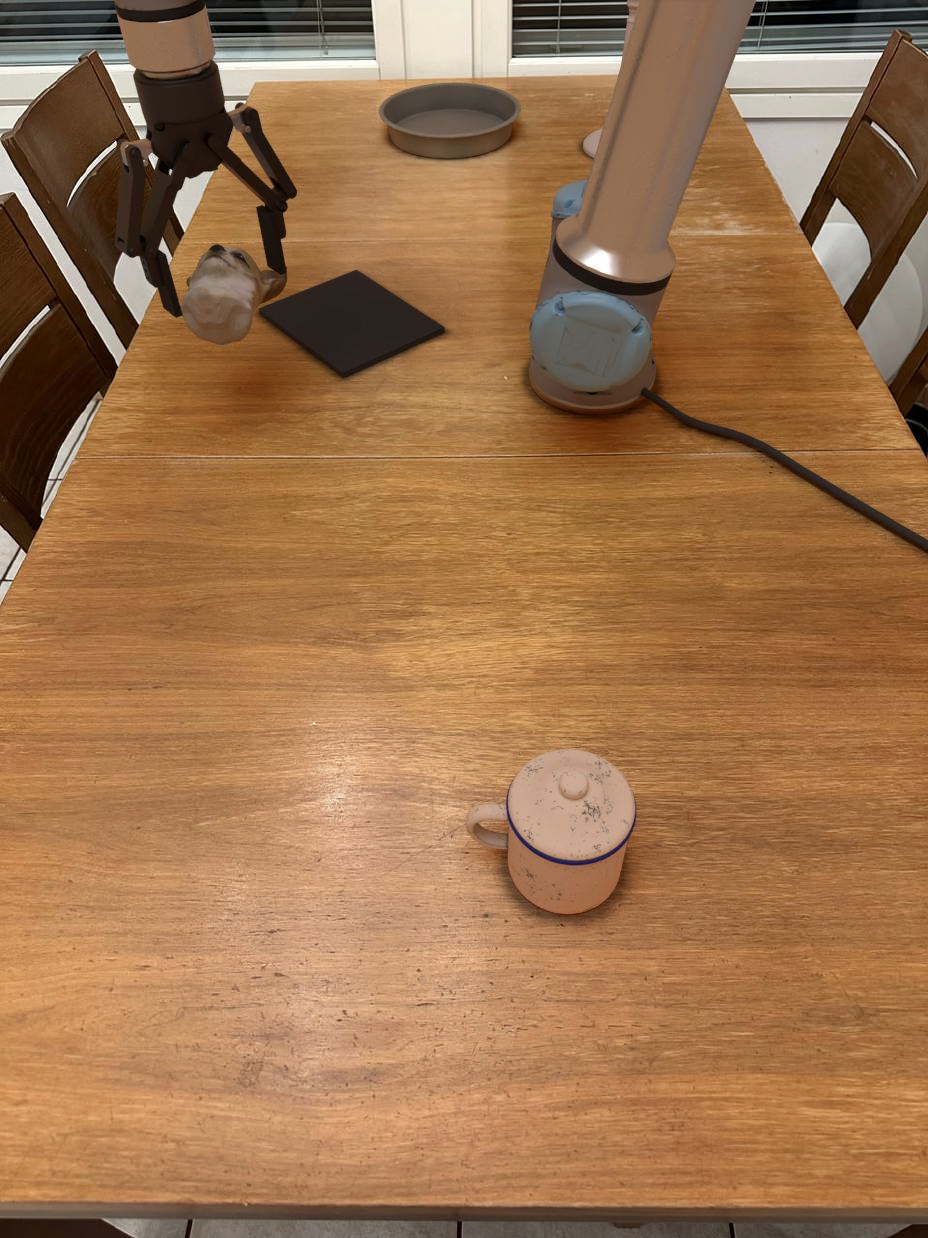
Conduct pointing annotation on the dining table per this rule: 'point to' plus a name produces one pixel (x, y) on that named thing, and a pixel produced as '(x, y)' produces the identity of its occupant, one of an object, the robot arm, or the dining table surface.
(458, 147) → the cake pan
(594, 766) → the teacup with lid
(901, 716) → the dining table surface
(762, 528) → the dining table surface
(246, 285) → the ceramic sculpture
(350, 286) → the desk pad
